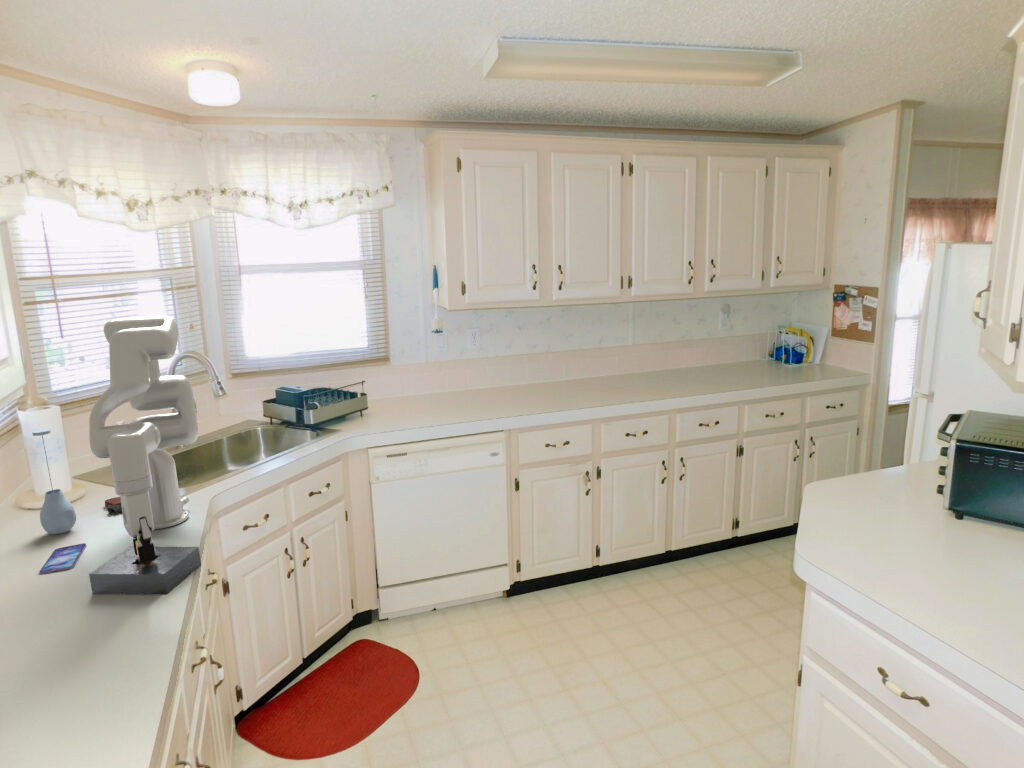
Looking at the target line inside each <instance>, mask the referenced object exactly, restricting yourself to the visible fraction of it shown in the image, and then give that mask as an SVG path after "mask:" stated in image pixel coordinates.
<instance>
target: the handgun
mask: <svg viewBox="0 0 1024 768" xmlns="http://www.w3.org/2000/svg"><path fill="white" fill-rule="evenodd" d="M104 506H105V508H106V507H107V508H106V509H107V512H108V515H115V514H120V513H121V514H122V506H121V497H120V496H116V497H112V498H109V499H108V498H107V499H105V500H104Z"/></svg>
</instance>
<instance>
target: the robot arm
mask: <svg viewBox="0 0 1024 768" xmlns="http://www.w3.org/2000/svg"><path fill="white" fill-rule="evenodd" d="M103 334H104V336H105V339H106V341H107V342H108V345H109V349H108V350H109V351H108V352H109V380H110V384H109V387H108V388H107V389H106V390H104V391H103V393H102V394H101V395H100V396H99V398H98V399H97V400H96V401H95V403H94V404H93V407H92V409H91V411H90V414H89V421H88V423H89V425H88V426H89V429H88V431H89V438H88V439H89V448H90V450H91V452H92V454H93V455H94V456H95V457H96V458H100V459H109V462H110V466H111V467H110V468H111V473H112V474H111V475H112V480H113V484H114V491H115V494H116V495H117V496H119V497H121V506H122V512H121V514H122V521H123V527H124V529H125V531H126V532H127V533H128V535H129V536H130V537H131V538H133V539H132V544H133V546H134V550H135V555H137V549H136V543H135V541H136V540H138V545H139V547H138V554H139V560H140V563H144V562H148V561H151V560H154V559H155V558H156V557H155V551H154V541H153V537H152V533H153V531H154V530H160V529H161V530H162V529H167V528H170V527H174V526H176V525H179V524H181V523H183V522H184V521H186V520H187V519H188V518H189V516H190V514H189V511H188V510H186V509H184V505H186V504H188V503H189V502H190V499H189V497H187V496H184V497H182V498H181V495H180V494H181V493H180V488H179V481H178V476H177V475H178V473H177V467H176V461H175V459H174V457H173V455H171V454H170V453H169V452H168V451H167V450H165V448H169V447H170V448H171V447H172V448H173V447H177V446H178V447H179V446H185V445H191V444H193V443H195V442H196V441H197V440H198V437H199V427H198V426H199V425H198V419H197V418H198V417H197V413H196V405H195V399H194V392H193V386H192V384H191V382H190V379H189V378H188V377H187V376H185V375H182V374H174V375H172V374H171V375H162V374H161V372H160V370H161V369H160V365H159V360H168V359H171V358H173V357H174V356H175V354H176V351H177V346H178V341H179V328H178V324H177V322H176V320H175V319H174V318H173V317H171V316H169V315H157V316H140V317H139V316H138V317H137V316H136V317H135V316H134V317H123V318H116V319H111V320H109V321H107V322H105V324H104V326H103ZM128 402H129V405H130V406H131V408H132V409H133V410H134V411H136V412H155V411H162V410H163V411H164V410H171V409H174V410H176V411H177V412H171V413H160V414H152V415H151V414H150V415H145V416H140V417H137V418H134V419H133V420H131V422H130V423H124V424H116V425H114V424H113V425H107V426H106V421H107V418H108V417H109V415H110V414H111V413H113V411H114V410H116V409H117V408H118V407H120V406H122V405H124V404H126V403H128Z"/></svg>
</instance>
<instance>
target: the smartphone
mask: <svg viewBox="0 0 1024 768" xmlns="http://www.w3.org/2000/svg"><path fill="white" fill-rule="evenodd" d="M86 548H87V543H85V542H84V543H83V542H82V543H77V544H74V545H72V544H71V545H68V546H63V547H59V548H55V549H54V550H53V551H52V553H51V554H50V555H49V557H48V558H47V560H46V561H45V563H44V564H43V565H42V567H41V568H40V570H39V571H38V573H39V574H40V575H46V574H51V573H57V572H62V571H68V570H72V569H74V568H75V567H76V565H77V563H78V562H79V559H80V558H81V556H82V554H83V552H84V551H85V549H86Z"/></svg>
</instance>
